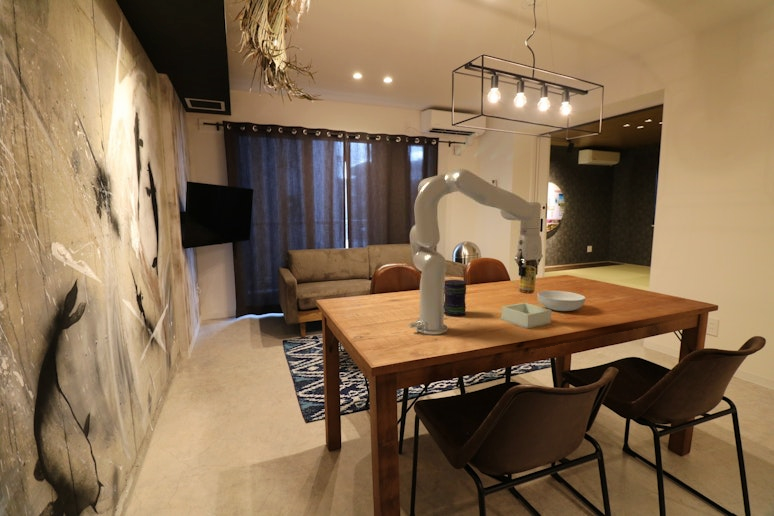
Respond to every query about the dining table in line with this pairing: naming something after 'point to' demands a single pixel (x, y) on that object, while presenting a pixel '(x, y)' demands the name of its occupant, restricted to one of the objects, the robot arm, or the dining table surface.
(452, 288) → the rusty oil drum
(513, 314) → the bin
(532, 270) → the sauce bottle
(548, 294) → the serving bowl
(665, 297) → the dining table surface
